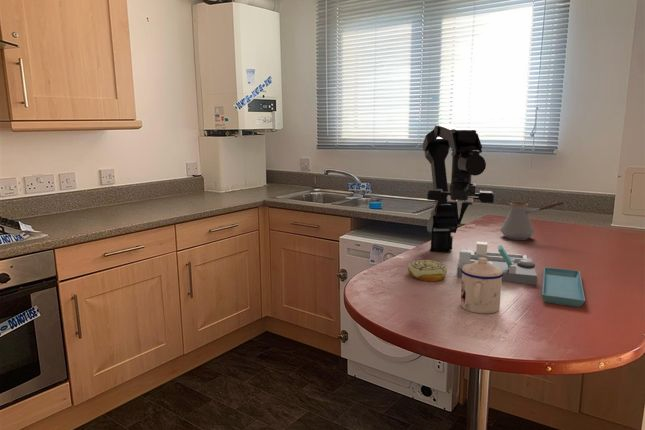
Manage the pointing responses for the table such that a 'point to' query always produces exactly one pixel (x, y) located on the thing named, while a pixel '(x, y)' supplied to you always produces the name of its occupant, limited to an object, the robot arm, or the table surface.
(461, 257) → the grey slider
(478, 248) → the cream slider
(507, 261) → the paddle lever
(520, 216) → the coffee pot
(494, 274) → the teacup with lid
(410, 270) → the decorated donut
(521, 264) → the panel
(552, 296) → the rectangular tray
